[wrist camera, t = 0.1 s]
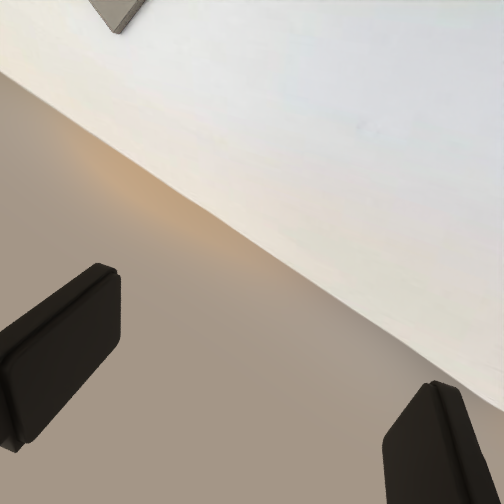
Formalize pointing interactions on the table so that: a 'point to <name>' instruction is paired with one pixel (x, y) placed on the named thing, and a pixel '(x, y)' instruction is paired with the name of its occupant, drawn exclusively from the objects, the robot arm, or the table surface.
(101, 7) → the board
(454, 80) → the table surface
